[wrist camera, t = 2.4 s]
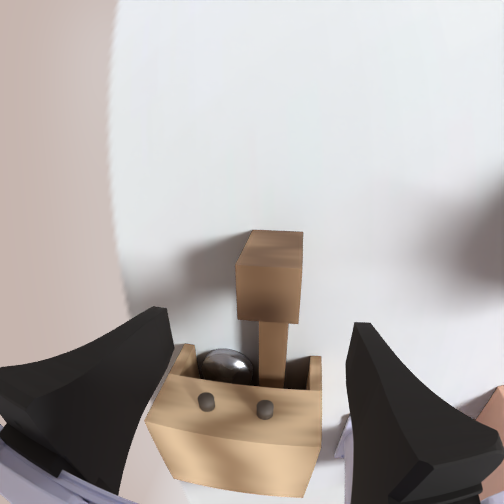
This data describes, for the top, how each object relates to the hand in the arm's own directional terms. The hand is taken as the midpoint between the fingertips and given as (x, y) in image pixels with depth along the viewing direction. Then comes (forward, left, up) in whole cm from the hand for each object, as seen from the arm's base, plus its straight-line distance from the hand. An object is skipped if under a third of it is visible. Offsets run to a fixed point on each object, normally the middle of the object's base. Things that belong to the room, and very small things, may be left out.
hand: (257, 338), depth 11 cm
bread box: (+2, +13, -8) cm, 15 cm away
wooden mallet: (+2, +6, -8) cm, 11 cm away
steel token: (+4, +10, -9) cm, 14 cm away
